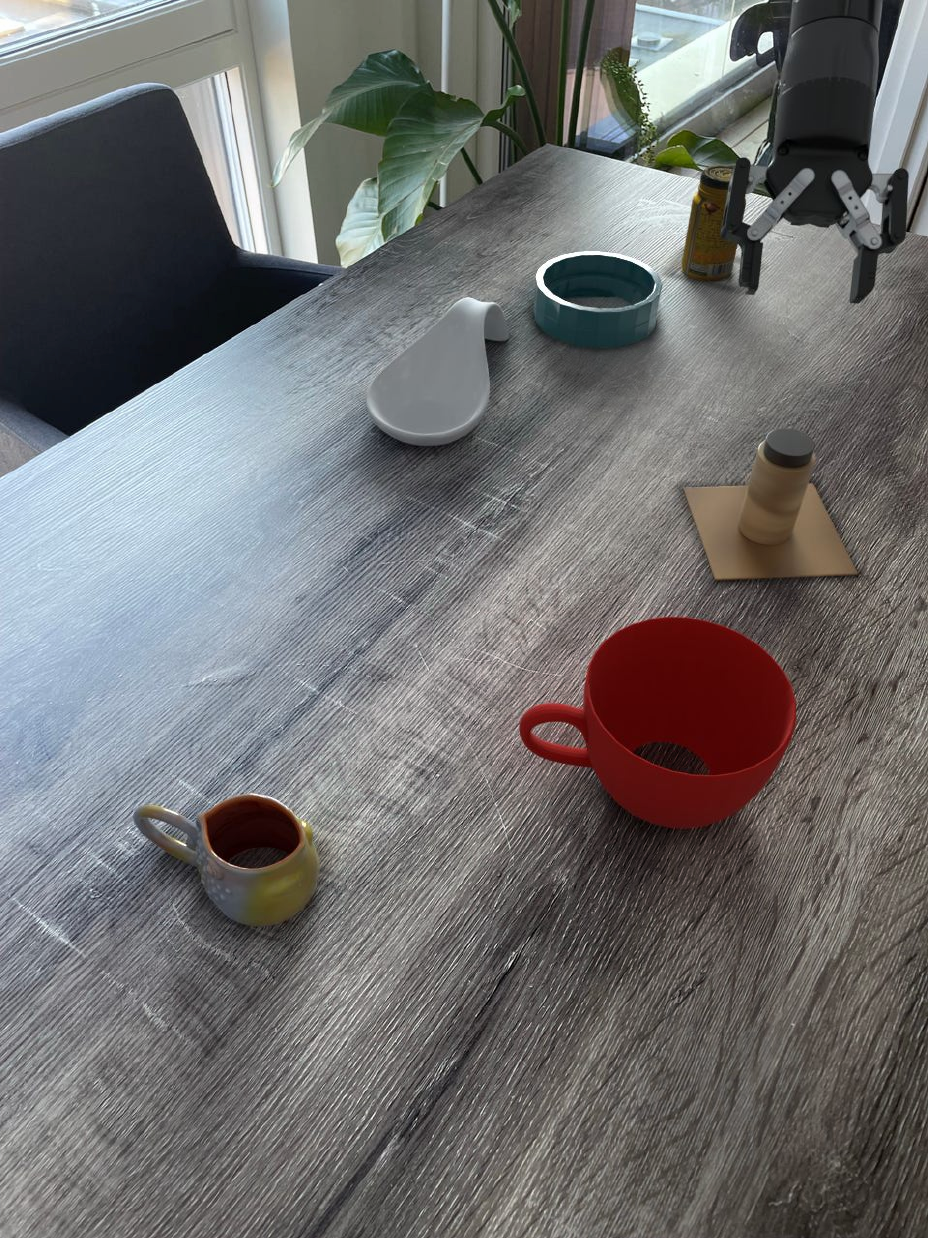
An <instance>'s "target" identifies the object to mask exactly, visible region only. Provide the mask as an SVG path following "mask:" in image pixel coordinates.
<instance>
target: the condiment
mask: <svg viewBox="0 0 928 1238" xmlns="http://www.w3.org/2000/svg"><path fill="white" fill-rule="evenodd" d="M733 169H734V166H732V165H725V164H717V165H716V164H715V165H710V166H707V167H705V168H704V169H703V170H702V171H701V173H700V176H699V177H700V178H699V184H698V186H697V189H698V190H697V191H696V193H695V194H694V195H693V197H692V201H691V207H690V208H691V209H690V213H689V219H688V226H687V230H686V235H685V240H684V242H685V243H684V249H683V253H682V256H681V257H682V258H681V270H682V272H683V274H684V275H686V276H687V277H689V278H690V279H694V280H696V281H701V282H708V283H709V282H711V283H712V282H721V281H723V280H726V279H727V278H728V277H730V275H731V273H732V271H733V268H734V263H735V259H736V255H737V249H738V247H739V245H738V244H737V243H735V242H732V241H724V240H723V239H722V238H721V229H722V223H723V217H724V211H725V205H726V199H727V193H728V188H729V182H730V176H731V173H732V171H733ZM746 206H747V199H746V198H745V202H744V208H743V214H742V219H741V221H742V222H744V218H745V217H744V216H745V212H746Z"/></svg>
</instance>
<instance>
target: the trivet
mask: <svg viewBox="0 0 928 1238" xmlns="http://www.w3.org/2000/svg"><path fill="white" fill-rule="evenodd" d="M747 487H748V485H727V486H724V485H721V486H697V487H683V488H682V491H683V493H684V496H685V499H686V502H687V506H688V508H689V510H690V513H691V516H692V519H693V522H694V525H695V528H696V530H697V533H698V536H699V539H700V543H701V544H702V548H703V551H704V553H705V556H706V559H707V561H708V564H709V567H710V571H711V573H712V576H713V579H714V580H715V581H735V580H736V581H737V580H739V581H740V580H760V579H761V580H762V579H784V578H785V579H787V578H788V579H789V578H812V577H815V578H816V577H837V576H838V577H840V576H858V575H859V573H858V571H857V568H856V567H855V564H854V563H853V561H852V559H851V557H850V555H849V553H848V550H847V549H846V547H845V545H844V543H843V540H842V538H841V536H840V534H839V533H838V530H837V529H836V527H835V525H834V523H833V521H832V518H831V517H830V515H829V513H828V511H827V509H826V506H825V505H824V503H823V501H822V498H821V496H820V495H819V492H818V490H817V489H816V486H815V485H814V483H808V486H807V489H806V492H805V495H804V498H803V501H802V504H801V507H800V510H799V513H798V517H797V520H796V523H795V526H794V529H793V532H792V535H791V537H790V538H789V539H788V540H787V541H785V542H783V543H781V544H777V545H764V544H760V543H756V542H754V541H752V540H750V539H748V538H747V537H745V536H744V535H743V534H742V533H741V531H740V530H739V527H738V519H739V516H740V512H741V509H742V505H743V501H744V498H745V494H746V490H747Z"/></svg>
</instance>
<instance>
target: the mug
mask: <svg viewBox="0 0 928 1238" xmlns="http://www.w3.org/2000/svg"><path fill="white" fill-rule="evenodd" d="M132 819H133V820H132V821H133V823H134V825H135V827H136V828H137V830H138V831H139V832H140V833H141V835H143V836H144V837H145V838H146V839H147V840H148V841H150V842H151V843H152V844H154V845H156V847H158V848H160V849H162V851H164V852H165V853H167V854H169V855H171V856H173V857H174V858H176V859H178V860H179V861H182V862H184V863H186V864H189V865H191V866H193V867H195V868H197V869H198V872H199V875H200V882H201V884H202V885H203V887H204V891H205V893H206V895H207V896H208V898H209V900H211V902H212V903H213V904H214V905H215V906H216V908H217V909H218V910H219V911H220V912H221V913H222V914H224V915H225V917H227V918H229V919H230V920H232V921H234V922H236V923H238V924H241V925H243V926H249V927H260V928H261V927H263V928H265V927H272V926H275V925H279V924H281V923H284V922H285V921H288V920H289V919H291V918H293V917H294V916H296V914H299V912H300V911H302V910H303V909H304V908H305V907H306V905H307V904H308V903H310V900H311V899H312V898H313V896H314V894H315V893H316V890H317V887H318V886H319V885H318V884H319V880H320V872H321V871H320V869H321V865H320V856H319V853H318V849H317V846H316V844H315V841H314V831H313V828H312V826H311V825H310V824H309V822H307V821H306V820H304V819H303V818H300V817H298V816H297V815H296V814H295V812H294V811H293V810H292V809H290V807H289V806H288V805H286V804H285V803H283V802H282V801H280V800H278V799H277V798H275V797H272V796H268V795H264V794H257V793H256V792H255V791H254V792H252V791H251V792H248V793H246V794H238V795H234V796H230V797H228V798H226V799H224V800H222V801H220V802H219V803H217V804H215V805H214V806H213V807H212V808H210V809H209V810H207V811H205V812H200V813H198V814H197V815H196V817H195V822H193V820H191V819H189V818H187V817H186V816H185V815H182V814H181V813H179V812H177V811H175V810H171V809H170V808H166V807H164V806H160V805H156V804H142V805H140V806H138V807H136V809H135V810H134V811H133V814H132ZM151 819H152V820H156V821H160V822H161V823H164V824H168V825H169V826H172V827H173V828H175V829H177V830H179V831H180V832H182V833H184V834H185V835H186V837H185V840H184V842H183V841H181V840H178V838H175V837H173V836H171V835H170V834H168V833H166V832H165V831H164V830H162V829H161V828H160V827H159V826H157V825H156V824H155V823H154V821H152V820H151ZM265 848H266V849H273V850H279V851H281V852H284V853H286V854H287V855H288V856H286V857H285V858H283V859H282V860H279V861H277V862H275V863H273V864H270V865H268V866H264V867H258V868H247V867H240V866H238V865H233V864H231V863H230V862H231V861H232V860H233V859H235V858H236V857H238V856H240V855H242V854H243V853H245V852H249V851H252V850H256V849H265Z"/></svg>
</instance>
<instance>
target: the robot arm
mask: <svg viewBox="0 0 928 1238" xmlns="http://www.w3.org/2000/svg"><path fill="white" fill-rule="evenodd" d="M883 2H884V0H792V2H791V12H790V20H789V30H788V39H787V45H786V51H785V56H784V59H783V63H782V68H781V74H780V81H779V85H778V87H777V109H776V118H775V127H774V135H773V136H774V137H773V145H772V155H771V161H770V163H769V165H768V166H766V165H759V164H752V163H751V160H750V159H749V158H748V157H744V156H743V157H742V156H741V157H739V158H738V159H737V160H736V162H735V163H734V166H733V167H734V169H733V171H732V173H731V176H730V182H729V188H728V193H727V199H726V205H725V211H724V217H723V223H722V229H721V238H722V239H723V240H724V241H732V242H735V243H737V244H738V245H737V246H738V247H739V248H740V253H741V254H740V262H739V271H738V278H737V279H738V284H739V287H740V288H744V295H747V296H755V294H756V292H757V291H758V289H759V286H760V285H759V284H760V276H761V266H762V259H763V249H764V242H762V241H763V240H764V239H765V238H766V236H767V235H768V234H770V233H771V232H772V231H773V230H774V229H775V228H776V226H777V225H778V224H779V223H780V222H781V221H782V220H783V219H784V220H785V221H786V222H788V223H790V226H798V227H800V226H807V225H812V226H813V227H817V228H826V229H829V228H830V227H831V226H833V225H835V226H836V228H837V230H838V232H839V233H840V234H841V236H842V238H844V239H845V240H847V241H848V242H849V243H850V245H851V247H852V248H853V251H854V252H855V254H856V255H857V256H856V257H855V258H854V259H853V264H852V273H851V281H850V291H849V300H848V301H849V304H858V305H859V304H861V302H862V301H863V300H865V298H866V297H868V295H870V294H871V293H872V292H873V290H874V288H875V286H876V285H875V284H876V276H877V269H878V268H877V267H878V260H879V259H878V258H879V255H882V254H887V255H888V254H892V253H893V252H894V251H895V250H896V249H897V247H899V245H901V244H902V243H903V242H904V241H905V239H906V237H907V218H908V200H909V198H908V197H909V177H910V176H909V175H910V174H909V172H908V170H907V169H906V168H904V167H900V168H897V169H896V170H894V172H893V173H873V172H872V170H871V167H870V164H869V158H870V157H869V156H870V149H871V148H870V147H871V142H872V141H871V139H872V132H873V121H874V114H875V103H876V95H877V85H878V78H879V77H878V76H879V66H880V65H879V64H880V61H879V60H880V59H879V58H880V57H879V55H880V53H879V38H880V30H881V29H880V28H881V20H882V10H883ZM760 183H762V184H763V186H764V188H765V191H766V192H767V193H768V195H769V197H770V198H771V200H772V202H771V203H770V204H769V205H768V206H767V207H766V209H765V210H764V211H763V212H762V213H761V215H760V216H758V217H757V219H756V220H755V221H754V222H753V223H752V224H751V225H750V224H748V223H746V222H744V221H741V219H742V214H743V208H744V202H745V199H746V195H751V194H752V193H753V192H754V190H755V188H756V186H757V185H758V184H760ZM868 190H869V191H872V192H873V193H874V195H875V200H876V202H878V203H879V204H881V224H880V226H881V227H880V233H879V232H878V230H877V229H876V227H875V226H874V224H873V222H872V220H871V215H870V212H869V211H868V209H867V207H866V205H865V203H863V201H862V197H864V196H865V194H866V193H867V191H868Z"/></svg>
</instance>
